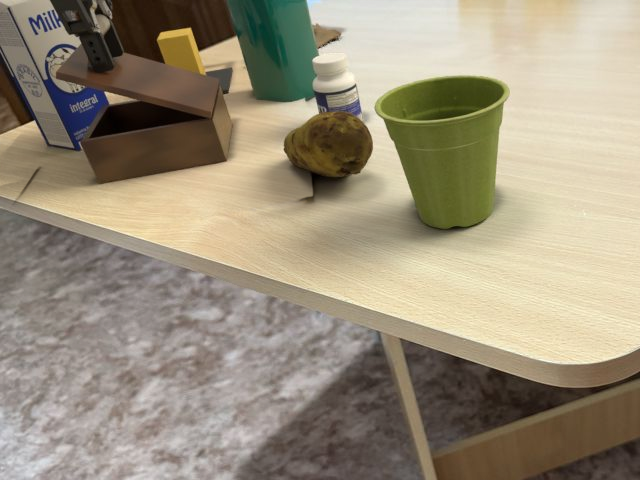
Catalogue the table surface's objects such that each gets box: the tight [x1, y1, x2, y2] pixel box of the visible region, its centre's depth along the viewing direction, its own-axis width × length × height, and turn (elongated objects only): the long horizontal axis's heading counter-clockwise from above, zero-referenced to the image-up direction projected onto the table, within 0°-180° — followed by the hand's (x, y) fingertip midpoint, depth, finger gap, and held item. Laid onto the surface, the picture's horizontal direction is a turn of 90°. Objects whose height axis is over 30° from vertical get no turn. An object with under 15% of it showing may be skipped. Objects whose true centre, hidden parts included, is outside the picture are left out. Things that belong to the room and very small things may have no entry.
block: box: [156, 27, 207, 75], centre depth 105 cm, size 4×4×8 cm
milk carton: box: [0, 0, 110, 152], centre depth 87 cm, size 7×7×20 cm
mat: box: [205, 67, 234, 95], centre depth 108 cm, size 12×12×1 cm
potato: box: [283, 111, 374, 178], centre depth 73 cm, size 8×13×8 cm, turn 24°
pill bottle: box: [312, 52, 366, 125], centre depth 84 cm, size 5×5×9 cm
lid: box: [56, 14, 219, 118], centre depth 78 cm, size 15×13×5 cm
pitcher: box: [226, 0, 320, 103], centre depth 93 cm, size 10×8×22 cm
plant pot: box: [373, 74, 511, 230], centre depth 63 cm, size 12×12×11 cm
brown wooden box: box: [80, 86, 234, 185], centre depth 84 cm, size 15×13×6 cm
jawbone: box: [312, 22, 342, 49], centre depth 118 cm, size 9×20×2 cm, turn 161°
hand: (110, 62), depth 78 cm, fingers closed on lid, 5 cm apart
